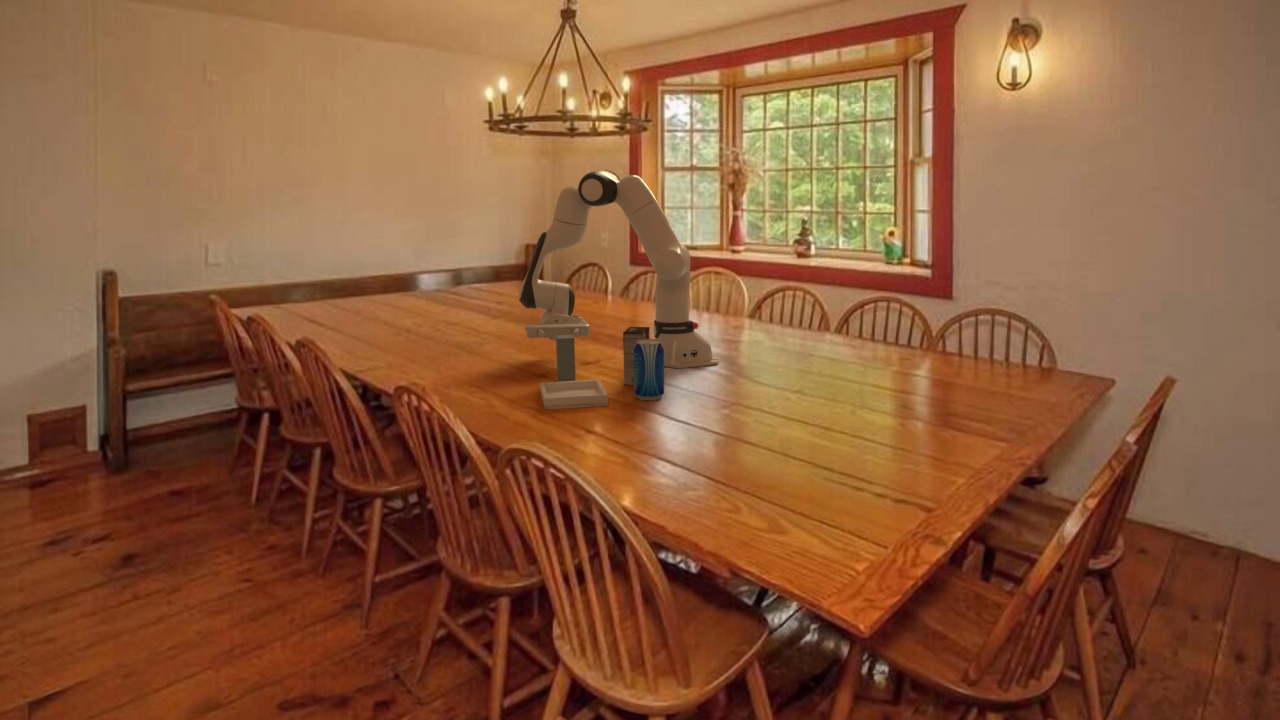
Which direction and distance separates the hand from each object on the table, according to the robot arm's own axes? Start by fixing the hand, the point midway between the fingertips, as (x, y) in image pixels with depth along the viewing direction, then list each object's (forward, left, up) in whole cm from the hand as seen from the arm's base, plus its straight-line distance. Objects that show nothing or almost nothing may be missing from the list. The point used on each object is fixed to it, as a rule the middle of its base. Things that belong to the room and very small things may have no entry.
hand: (559, 334), depth 246 cm
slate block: (0, +12, -12) cm, 17 cm away
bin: (0, +31, -12) cm, 34 cm away
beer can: (-21, +34, -12) cm, 42 cm away
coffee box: (-21, +16, -12) cm, 30 cm away
